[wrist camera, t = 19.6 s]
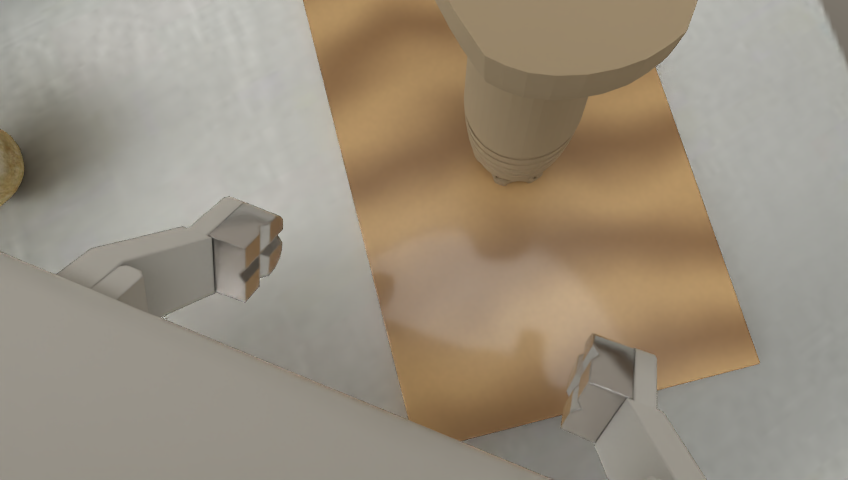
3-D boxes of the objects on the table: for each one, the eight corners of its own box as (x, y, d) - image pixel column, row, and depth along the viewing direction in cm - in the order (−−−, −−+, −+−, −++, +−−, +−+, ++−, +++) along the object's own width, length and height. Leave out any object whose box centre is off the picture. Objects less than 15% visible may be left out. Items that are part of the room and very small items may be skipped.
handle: (560, 74, 25) (682, -289, 10) (579, 220, 24) (742, 56, 9) (449, 87, 25) (409, -243, 10) (463, 231, 24) (440, 91, 10)
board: (753, 362, 23) (761, 363, 23) (418, 449, 24) (416, 452, 23) (588, -108, 27) (590, -118, 26) (299, -20, 27) (295, -28, 27)
